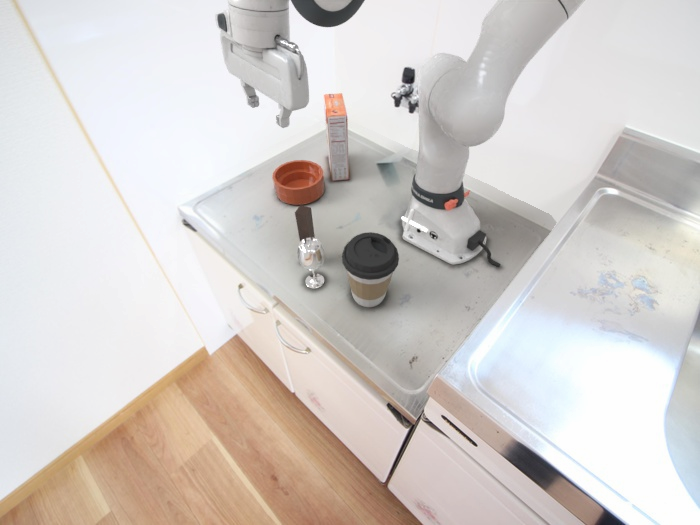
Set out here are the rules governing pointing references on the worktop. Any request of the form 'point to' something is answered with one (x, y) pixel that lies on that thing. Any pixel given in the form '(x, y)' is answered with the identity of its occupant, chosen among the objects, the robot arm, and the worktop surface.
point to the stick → (304, 222)
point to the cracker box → (337, 136)
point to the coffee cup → (369, 267)
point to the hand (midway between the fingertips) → (267, 115)
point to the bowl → (299, 182)
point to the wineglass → (311, 260)
